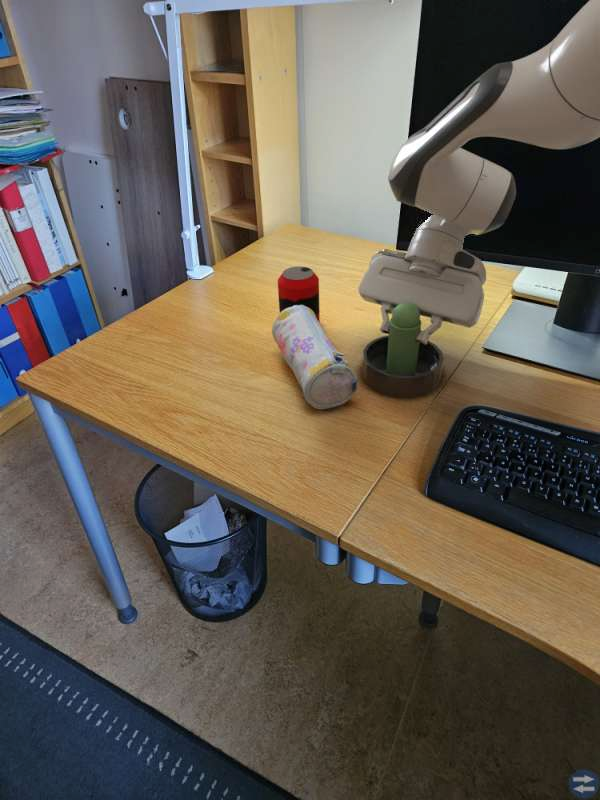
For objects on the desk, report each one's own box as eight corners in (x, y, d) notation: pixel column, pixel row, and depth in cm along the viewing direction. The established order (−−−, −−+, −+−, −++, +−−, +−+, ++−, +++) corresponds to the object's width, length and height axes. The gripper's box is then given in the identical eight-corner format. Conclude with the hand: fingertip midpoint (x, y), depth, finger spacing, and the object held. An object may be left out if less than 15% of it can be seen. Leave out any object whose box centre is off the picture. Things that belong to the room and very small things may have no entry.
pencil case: (359, 407, 89) (361, 357, 83) (307, 419, 87) (305, 369, 81) (316, 342, 105) (315, 296, 99) (271, 351, 103) (267, 305, 97)
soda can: (327, 329, 108) (327, 271, 101) (301, 345, 104) (298, 286, 97) (299, 316, 113) (297, 260, 105) (272, 331, 108) (268, 274, 101)
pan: (447, 361, 98) (450, 341, 96) (431, 404, 89) (434, 384, 86) (374, 348, 102) (375, 329, 100) (352, 388, 93) (352, 368, 90)
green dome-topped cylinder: (419, 363, 96) (426, 299, 88) (412, 379, 92) (419, 313, 85) (390, 357, 97) (395, 294, 90) (383, 373, 94) (387, 308, 86)
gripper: (370, 238, 93) (340, 315, 92) (492, 263, 84) (459, 349, 83) (381, 254, 98) (353, 327, 98) (496, 279, 89) (465, 359, 89)
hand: (402, 337), depth 91 cm, fingers closed on green dome-topped cylinder, 5 cm apart
